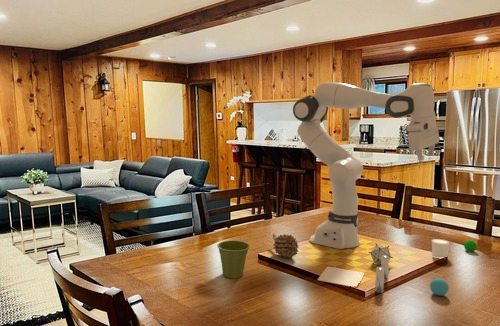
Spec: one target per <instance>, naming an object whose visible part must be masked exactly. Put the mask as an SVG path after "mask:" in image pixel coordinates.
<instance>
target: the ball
mask: <svg viewBox="0 0 500 326" xmlns="http://www.w3.org/2000/svg"><path fill="white" fill-rule="evenodd" d="M429 288H430V290H431V292H432V293H433V294H434V295H435V296H439V297H442V296H445V295H446V294H447V293H448V292H449V285H448V282H447V281H446V280H445V279H443V278H439V277H437V278H433V279H432V280H431V281H430V285H429Z"/></svg>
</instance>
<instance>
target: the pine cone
mask: <svg viewBox="0 0 500 326" xmlns="http://www.w3.org/2000/svg"><path fill="white" fill-rule="evenodd" d="M272 238H273V241H274V243H273V244H272V246H273V248H272V249H274V251H275V254H277V255H278V256H280V257H284V258H289V259H290V258H293V257H295V256H296V255H298V252H299V250H298V249H299V248H300V245H298V244H299V242H298V240H297V237H296V238H295V237H294V236H293V235H292V234H285V233H284V234H280V235H277V234H275V233H273V234H272Z"/></svg>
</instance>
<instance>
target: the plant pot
mask: <svg viewBox="0 0 500 326" xmlns="http://www.w3.org/2000/svg"><path fill="white" fill-rule="evenodd" d="M250 247H251V246H250V243H248V242H246V241H242V240H235V239H233V240H230V239H229V240H223V241H220V242H218V243H217V247H216V248H218V252H219V256H220V262H221V271H222V275H223V277H225V278H228V279H229V278H231V279H237V278H241V277H242V276H243V275H244V269H245V266H246V259H247V255H248V251H249V248H250Z"/></svg>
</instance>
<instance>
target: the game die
mask: <svg viewBox="0 0 500 326" xmlns="http://www.w3.org/2000/svg"><path fill="white" fill-rule="evenodd" d="M389 247H390V245H387V246H385V245H378V244H377V243H375V246H374V248H373V249H372V250H371V251H368V253H369V254H370V255H371V259H372V261H373V262H372V265H375V264H377V265H381V256H382V255H386V256H389V261H390V260H391V259H393V258H394V257H393V256H392V255H391V252H390V249H389Z"/></svg>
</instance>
